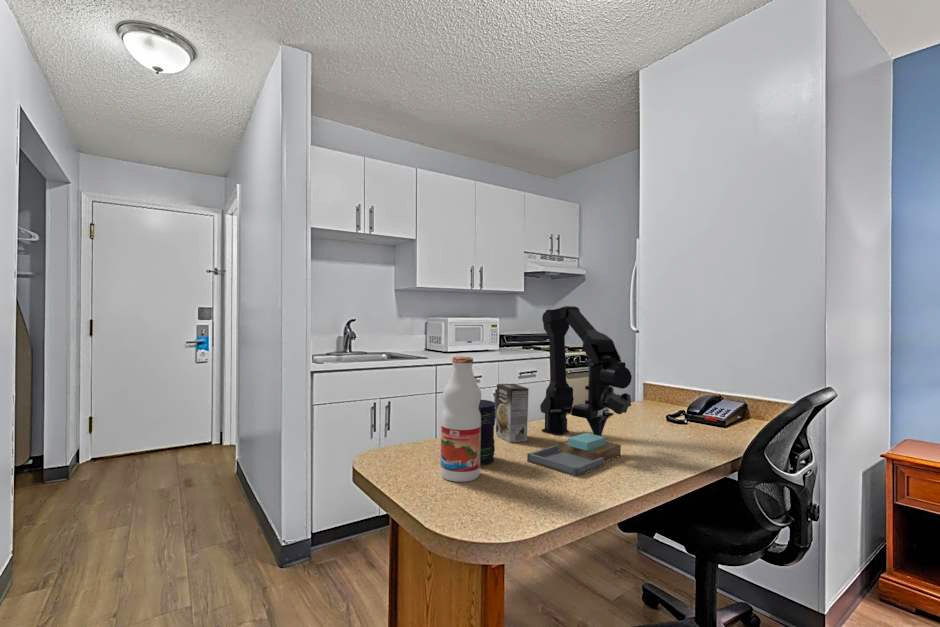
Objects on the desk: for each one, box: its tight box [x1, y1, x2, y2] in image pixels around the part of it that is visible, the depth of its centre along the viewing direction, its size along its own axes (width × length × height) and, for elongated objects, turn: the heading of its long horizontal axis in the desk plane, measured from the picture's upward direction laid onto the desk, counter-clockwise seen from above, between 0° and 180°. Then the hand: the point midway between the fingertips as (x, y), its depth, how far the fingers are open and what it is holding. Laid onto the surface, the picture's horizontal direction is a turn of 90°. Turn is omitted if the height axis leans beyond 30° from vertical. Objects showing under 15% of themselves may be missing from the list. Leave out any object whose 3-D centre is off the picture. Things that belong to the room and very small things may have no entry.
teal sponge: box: [567, 432, 607, 451], centre depth 132 cm, size 6×9×2 cm, turn 133°
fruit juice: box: [439, 356, 482, 483], centre depth 115 cm, size 9×9×28 cm
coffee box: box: [495, 383, 530, 444], centre depth 148 cm, size 9×6×16 cm
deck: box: [559, 440, 622, 462], centre depth 133 cm, size 12×11×3 cm
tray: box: [526, 444, 605, 477], centre depth 125 cm, size 15×12×2 cm
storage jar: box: [479, 399, 496, 466], centre depth 127 cm, size 10×10×15 cm
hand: (597, 438), depth 136 cm, fingers closed
